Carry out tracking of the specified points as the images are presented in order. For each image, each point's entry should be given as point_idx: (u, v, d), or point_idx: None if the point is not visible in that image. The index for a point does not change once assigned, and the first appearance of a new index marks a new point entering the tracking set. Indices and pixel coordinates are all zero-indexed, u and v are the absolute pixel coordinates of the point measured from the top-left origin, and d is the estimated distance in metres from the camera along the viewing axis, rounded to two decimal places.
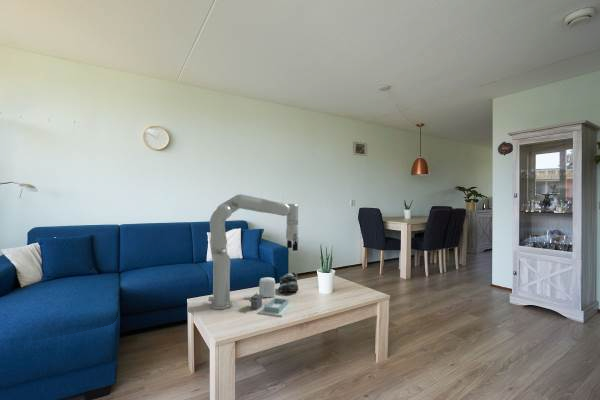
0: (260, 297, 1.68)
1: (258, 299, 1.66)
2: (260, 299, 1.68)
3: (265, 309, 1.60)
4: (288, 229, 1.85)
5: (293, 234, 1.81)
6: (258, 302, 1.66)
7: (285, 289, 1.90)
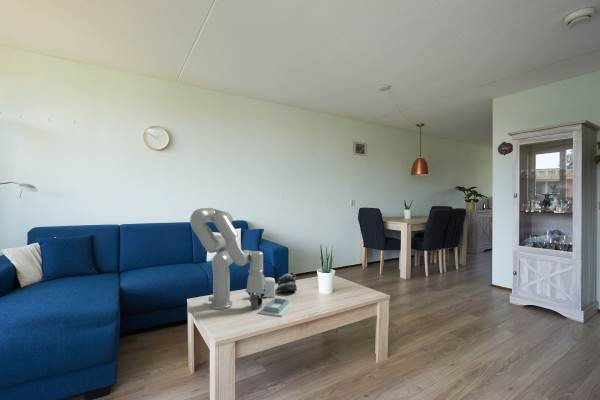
0: None
1: None
2: None
3: (265, 309, 1.60)
4: (254, 281, 1.65)
5: (263, 286, 1.65)
6: None
7: (284, 289, 1.90)
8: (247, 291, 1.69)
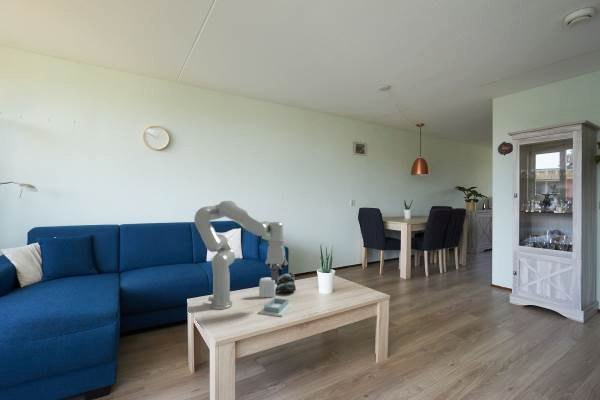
0: None
1: (278, 270, 1.64)
2: None
3: (265, 309, 1.60)
4: (274, 251, 1.63)
5: (283, 256, 1.63)
6: (278, 273, 1.64)
7: (283, 289, 1.90)
8: (267, 263, 1.67)
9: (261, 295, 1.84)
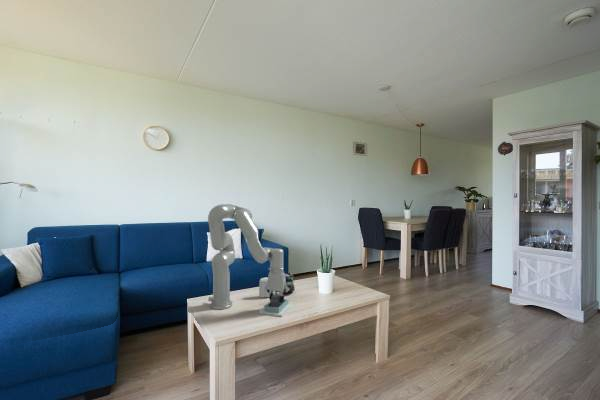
0: None
1: (279, 298, 1.64)
2: None
3: (265, 309, 1.60)
4: (275, 278, 1.63)
5: (284, 283, 1.63)
6: (279, 301, 1.64)
7: None
8: (266, 288, 1.67)
9: (261, 295, 1.84)
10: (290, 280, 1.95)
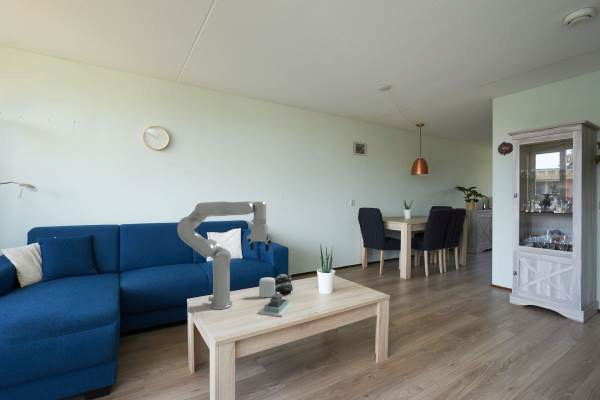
0: (280, 296, 1.66)
1: (279, 298, 1.64)
2: (280, 298, 1.66)
3: (265, 309, 1.60)
4: (258, 229, 1.71)
5: (266, 234, 1.71)
6: (279, 301, 1.64)
7: (280, 290, 1.89)
8: (248, 237, 1.75)
9: (261, 295, 1.84)
10: (288, 280, 1.94)
